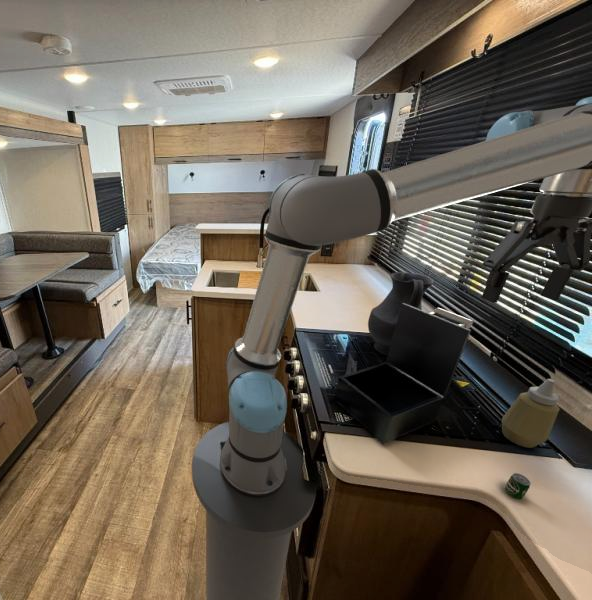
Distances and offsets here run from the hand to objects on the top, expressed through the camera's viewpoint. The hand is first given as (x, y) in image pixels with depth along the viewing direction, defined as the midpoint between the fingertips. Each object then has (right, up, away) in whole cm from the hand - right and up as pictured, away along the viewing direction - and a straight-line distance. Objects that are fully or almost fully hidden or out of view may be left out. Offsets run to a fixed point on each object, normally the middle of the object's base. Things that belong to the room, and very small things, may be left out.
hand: (518, 299), depth 65 cm
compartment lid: (-10, -13, +15) cm, 22 cm away
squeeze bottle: (+11, -35, +11) cm, 38 cm away
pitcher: (+2, -19, +46) cm, 50 cm away
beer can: (-3, -41, -1) cm, 41 cm away
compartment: (-17, -31, +20) cm, 41 cm away
